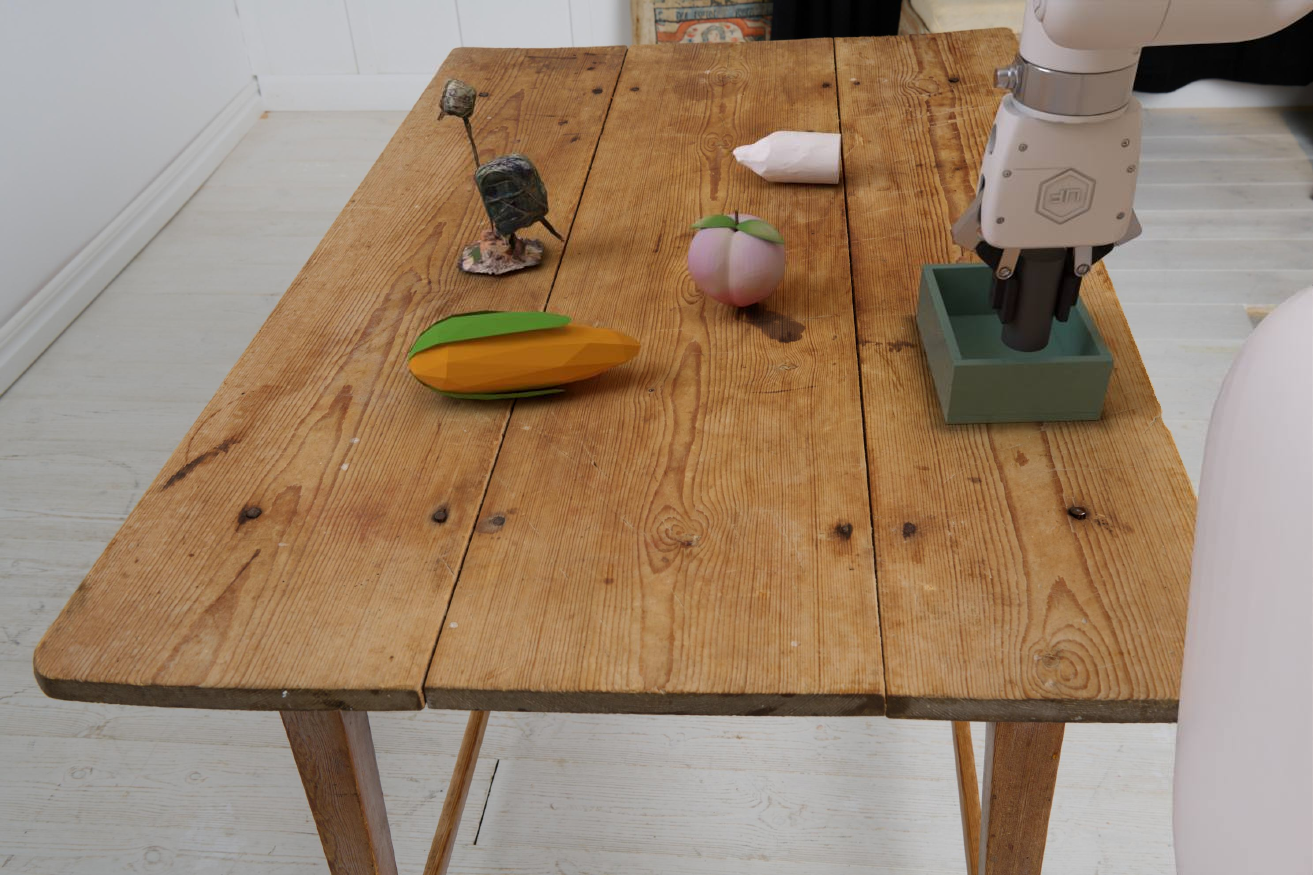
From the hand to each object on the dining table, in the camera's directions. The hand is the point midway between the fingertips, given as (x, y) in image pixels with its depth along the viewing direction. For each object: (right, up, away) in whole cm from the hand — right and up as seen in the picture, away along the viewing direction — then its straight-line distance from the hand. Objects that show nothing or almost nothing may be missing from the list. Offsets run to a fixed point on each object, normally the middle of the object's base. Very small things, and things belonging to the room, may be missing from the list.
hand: (1030, 311), depth 83 cm
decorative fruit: (-21, +3, +19) cm, 29 cm away
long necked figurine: (-44, +9, +29) cm, 53 cm away
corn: (-40, -5, +11) cm, 42 cm away
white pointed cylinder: (-14, +20, +40) cm, 46 cm away
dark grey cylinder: (0, -2, +2) cm, 3 cm away
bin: (+1, -4, +9) cm, 10 cm away
